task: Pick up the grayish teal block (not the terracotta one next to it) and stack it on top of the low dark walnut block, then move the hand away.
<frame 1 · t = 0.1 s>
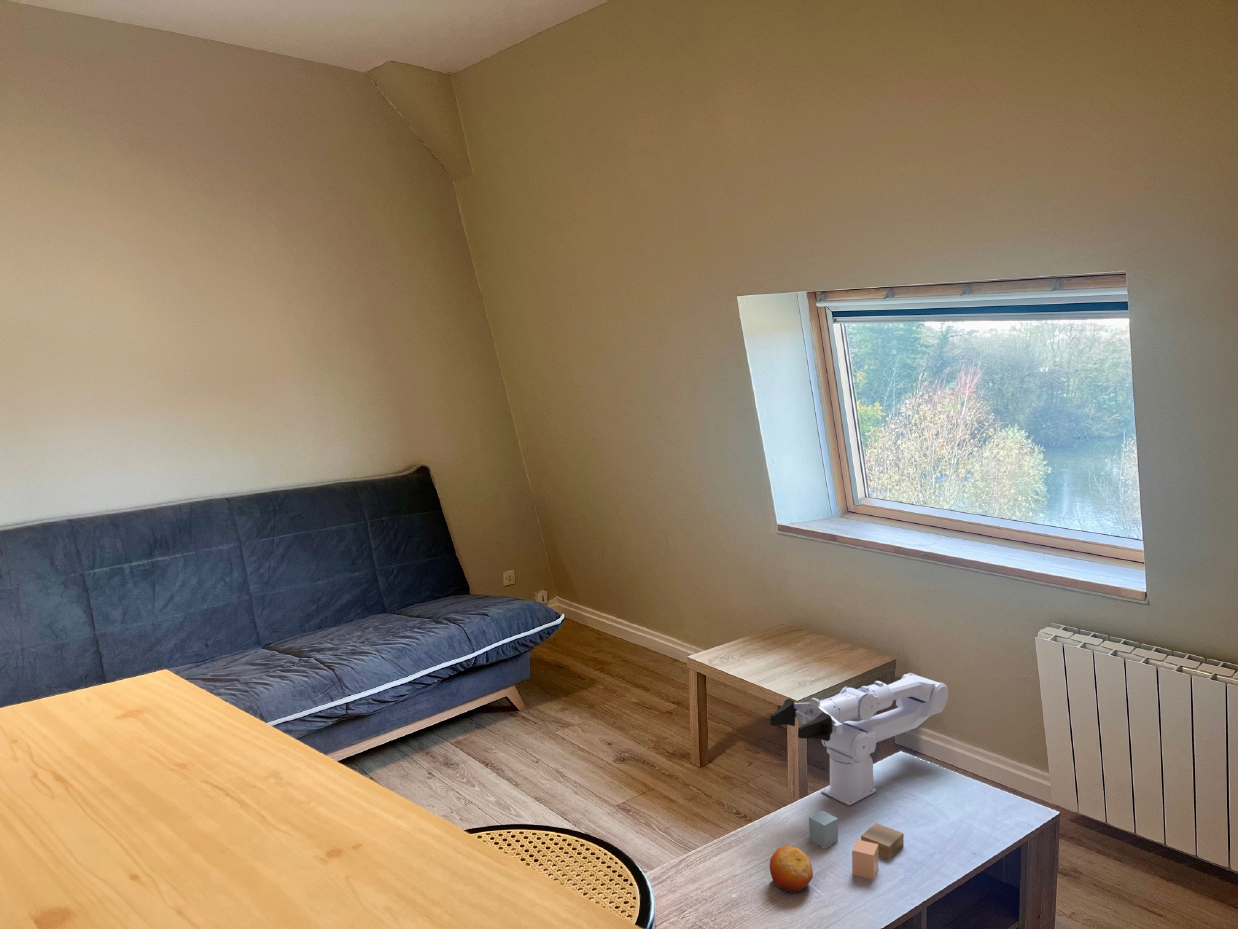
hand: (785, 726, 188), 22 cm above the table, tool horizontal, fingers open, 7 cm apart
terracotta block: (865, 871, 174), on the table
grayish teal block: (823, 840, 185), on the table
walnut block: (882, 848, 182), on the table
fruit: (791, 887, 171), on the table
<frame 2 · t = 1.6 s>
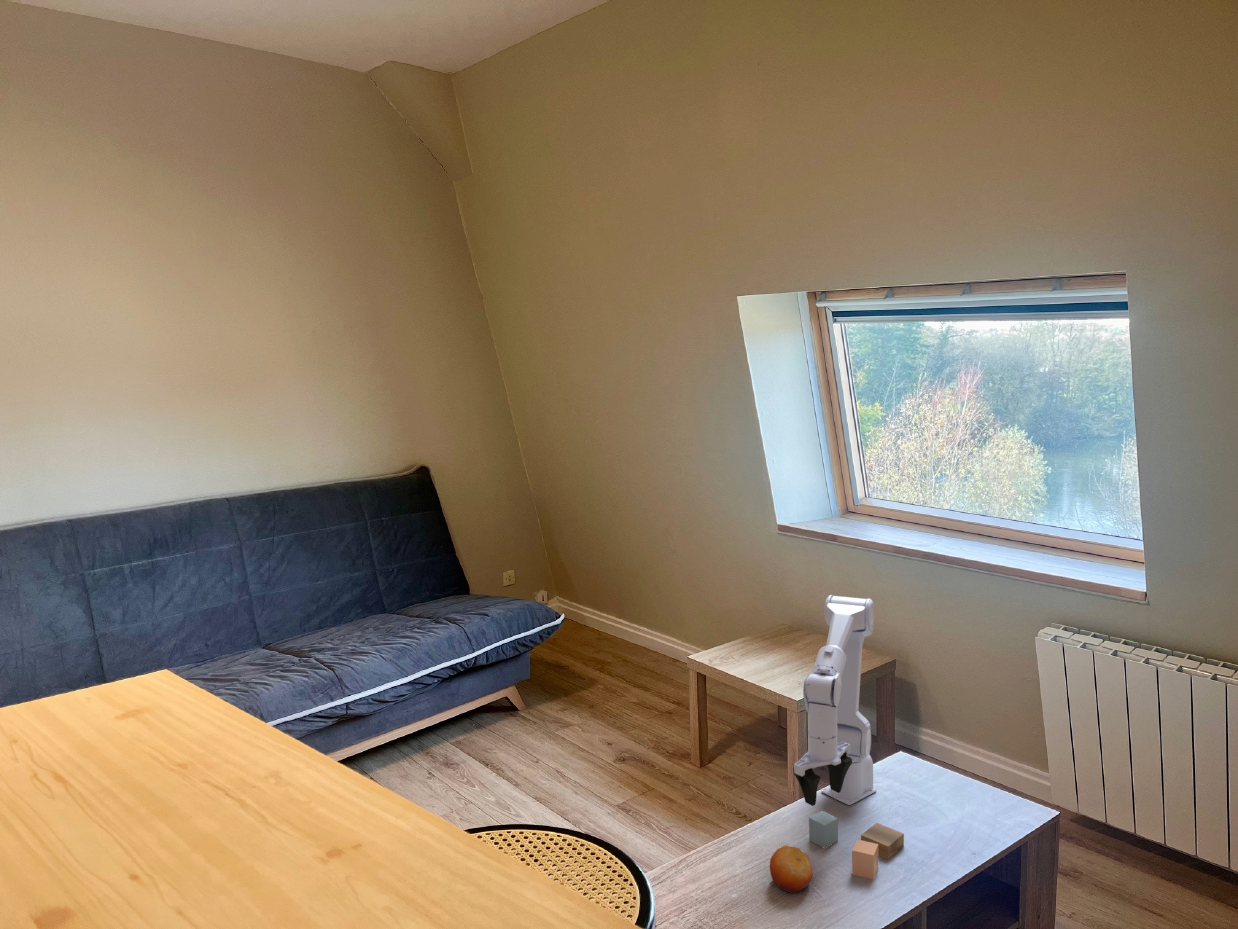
hand: (823, 797, 184), 9 cm above the table, tool pointing down, fingers open, 7 cm apart
nothing on the table moved.
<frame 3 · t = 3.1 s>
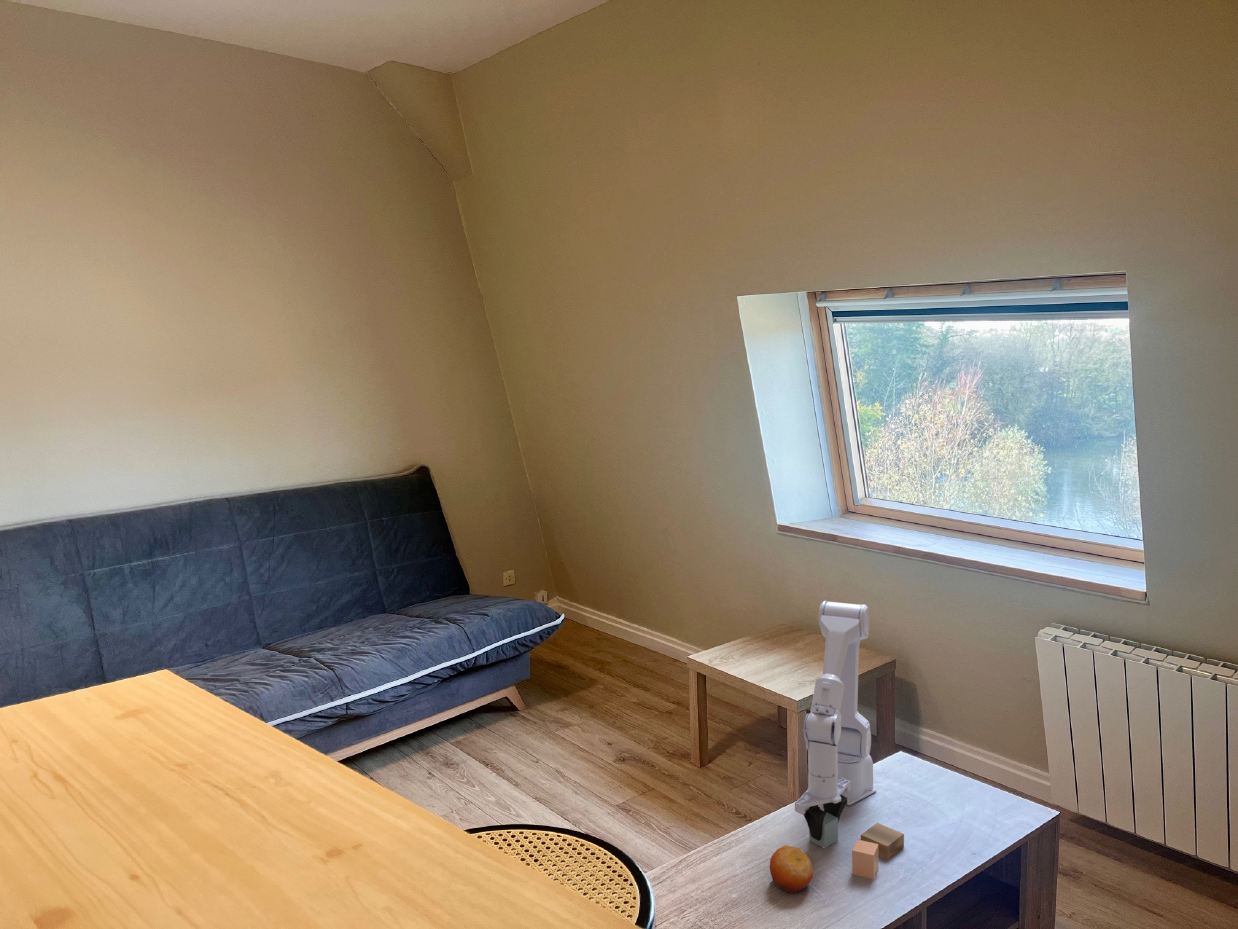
hand: (823, 834, 185), 1 cm above the table, tool pointing down, fingers closed on grayish teal block, 4 cm apart
grayish teal block: (823, 840, 185), on the table, touching gripper
everything else where it was.
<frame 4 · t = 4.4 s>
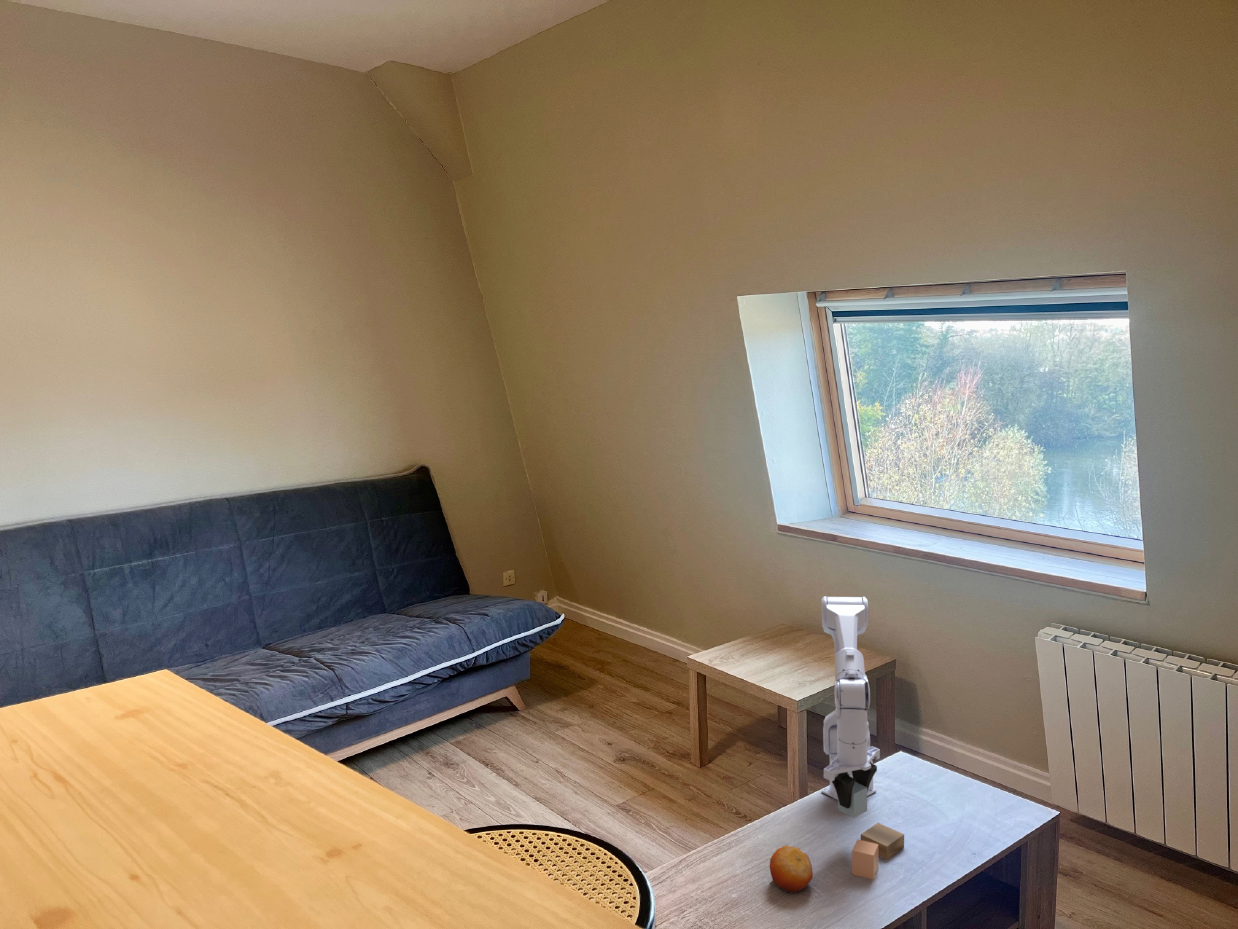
hand: (852, 802, 182), 9 cm above the table, tool pointing down, fingers closed on grayish teal block, 4 cm apart
grayish teal block: (852, 810, 182), point 7 cm above the table, touching gripper
everything else where it was.
when the fingers open (5 cm above the table, at t = 5.9 s): grayish teal block stays where it is, resting on walnut block.
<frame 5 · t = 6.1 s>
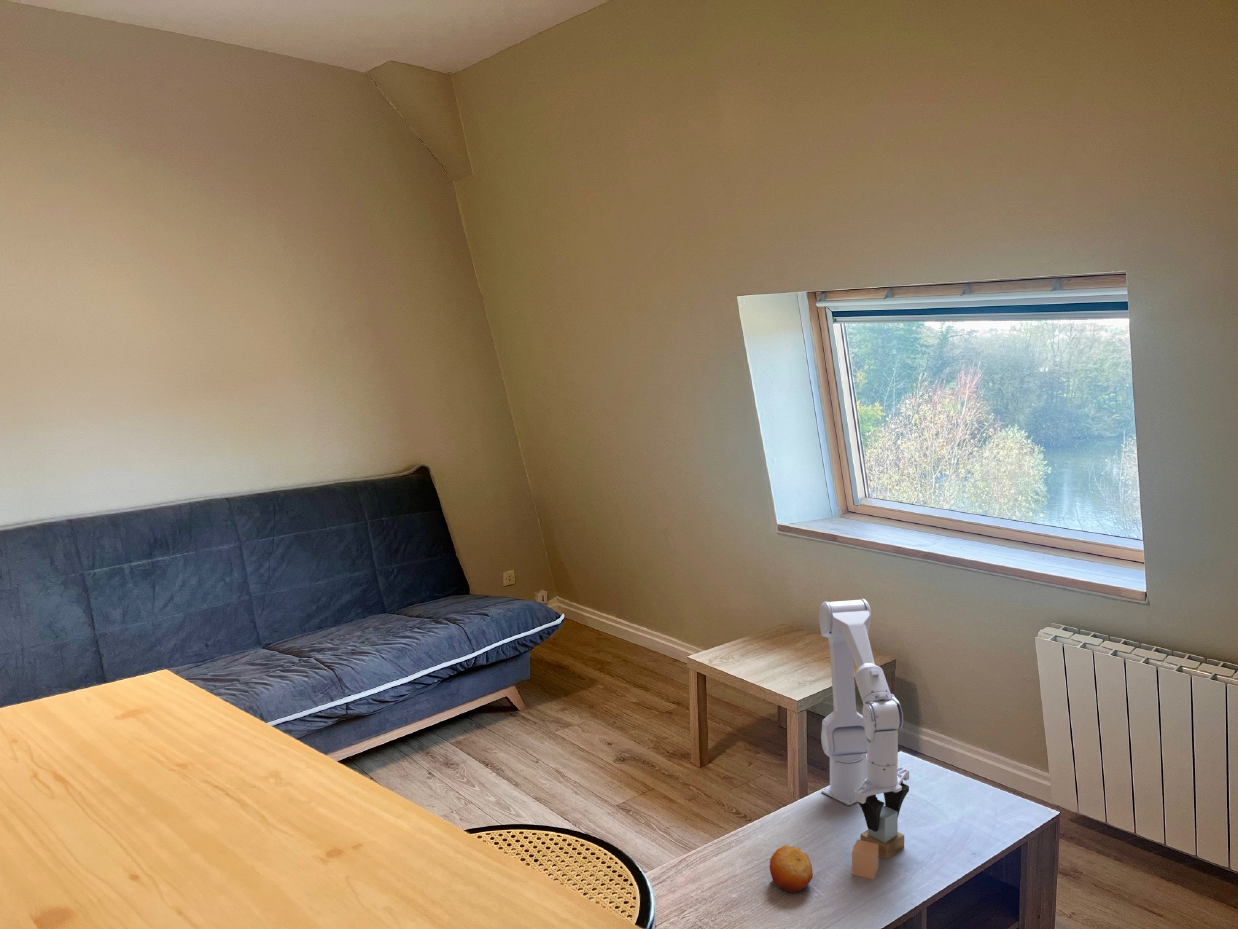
hand: (882, 824, 181), 5 cm above the table, tool pointing down, fingers open, 5 cm apart
grayish teal block: (882, 834, 181), point 3 cm above the table, touching walnut block
walnut block: (882, 848, 182), on the table, touching grayish teal block
everything else where it was.
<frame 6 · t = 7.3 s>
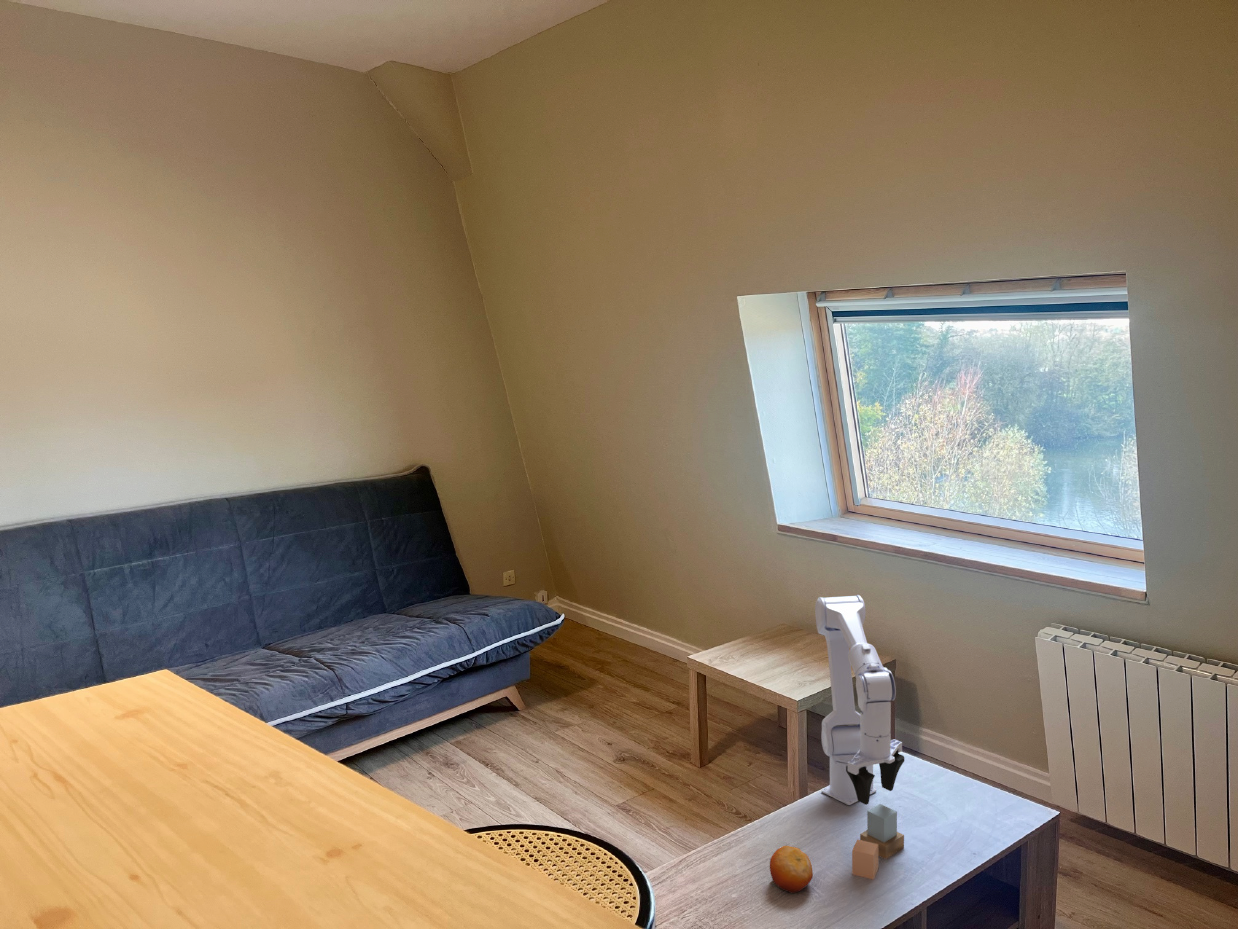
hand: (875, 795, 182), 10 cm above the table, tool pointing down, fingers open, 7 cm apart
nothing on the table moved.
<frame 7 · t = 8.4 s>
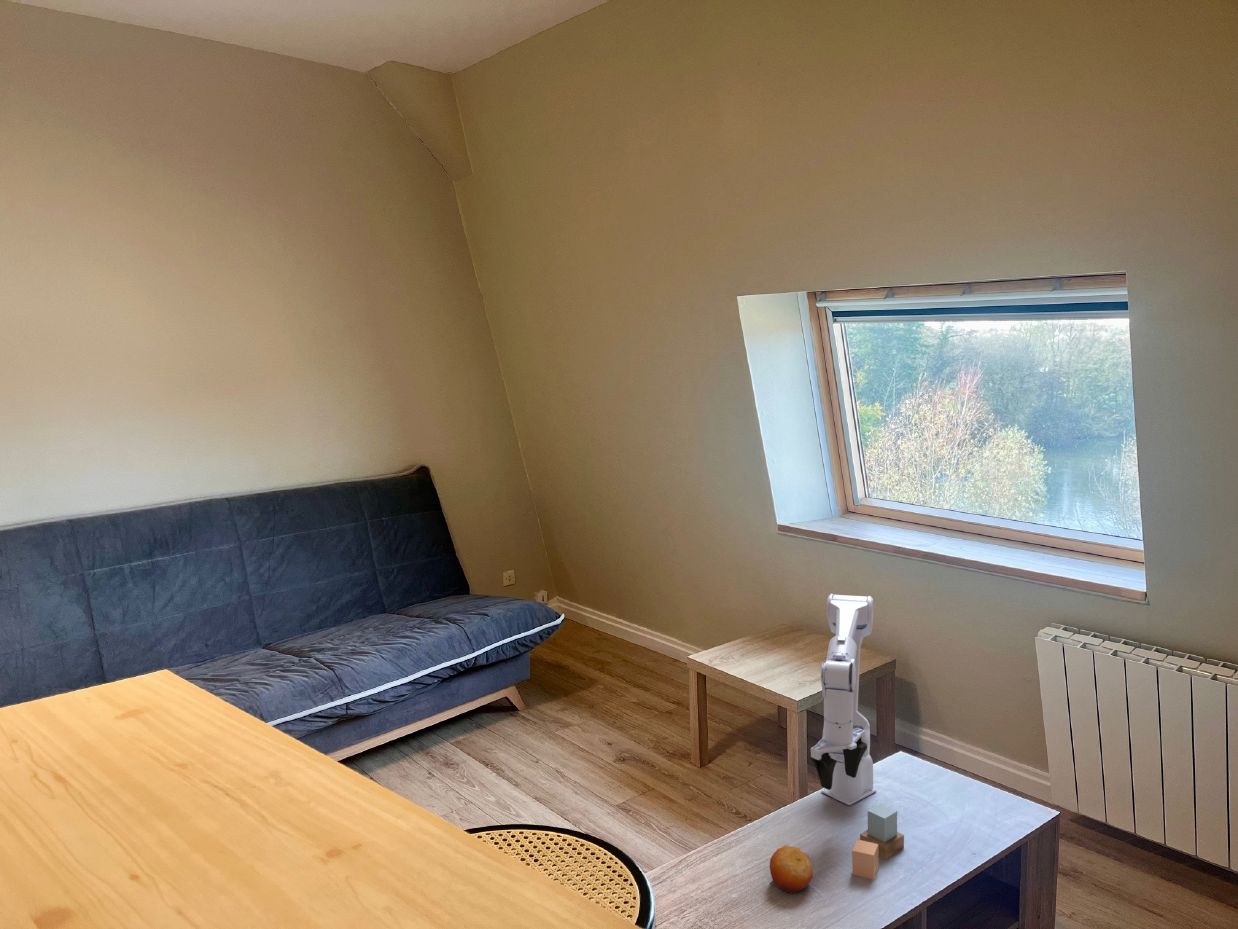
hand: (838, 781, 187), 10 cm above the table, tool pointing down, fingers open, 7 cm apart
grayish teal block: (882, 834, 182), point 3 cm above the table
walnut block: (881, 848, 182), on the table
everything else where it was.
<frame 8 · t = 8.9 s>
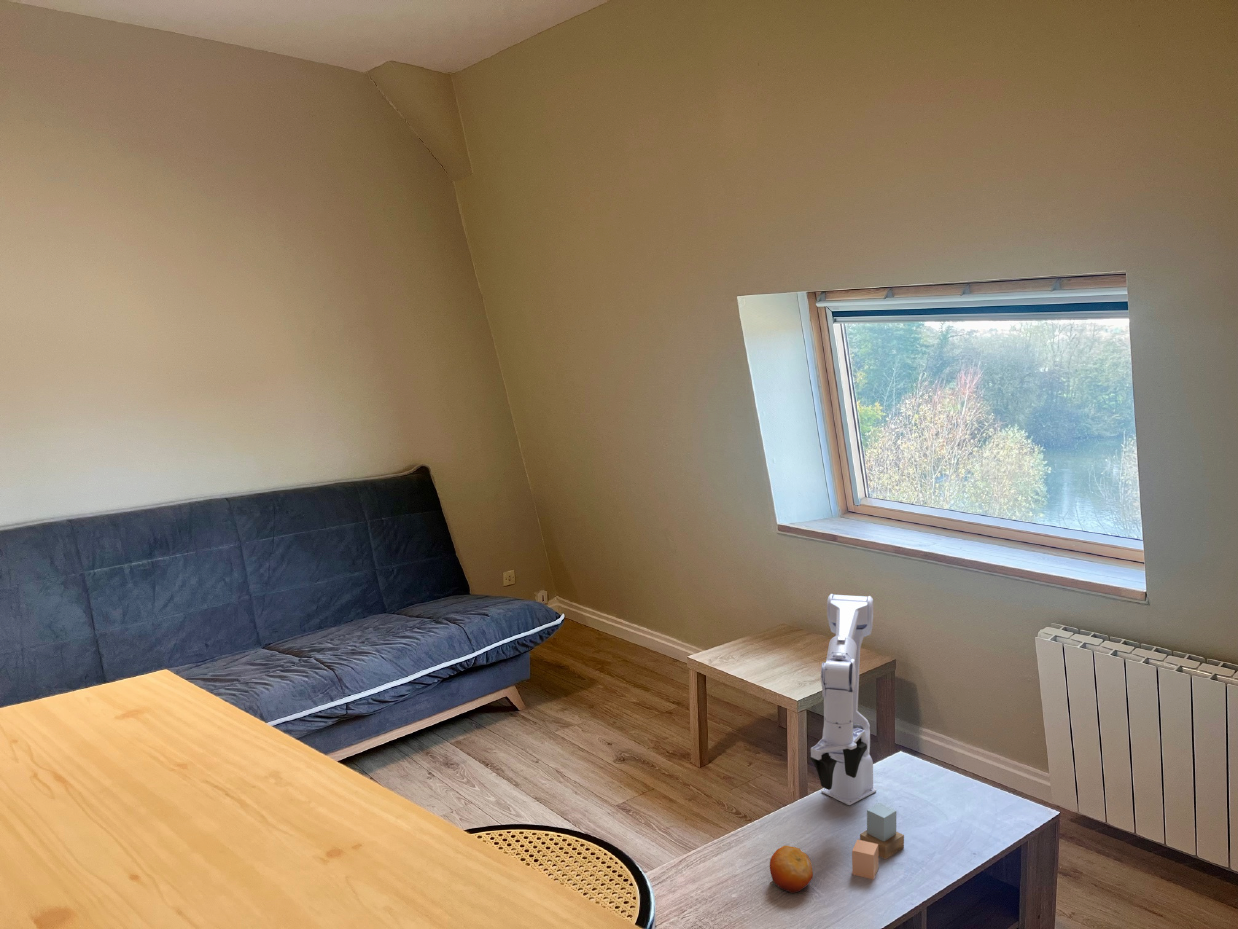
hand: (838, 781, 187), 10 cm above the table, tool pointing down, fingers open, 7 cm apart
nothing on the table moved.
at the end: grayish teal block 0.3 cm off-centre on the walnut block, point 3.0 cm above the walnut block's base; grayish teal block tilted 0°; the gripper is holding nothing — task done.
